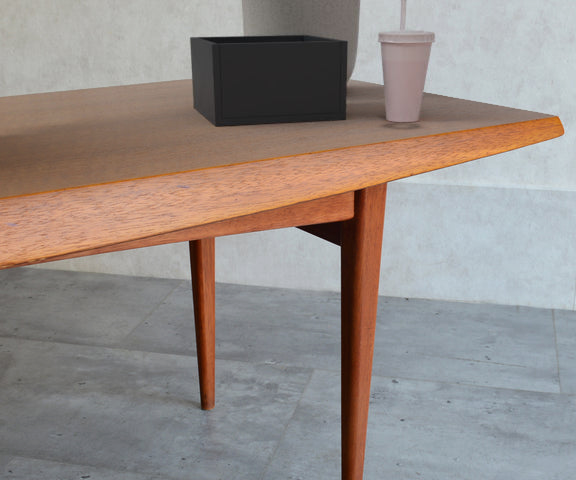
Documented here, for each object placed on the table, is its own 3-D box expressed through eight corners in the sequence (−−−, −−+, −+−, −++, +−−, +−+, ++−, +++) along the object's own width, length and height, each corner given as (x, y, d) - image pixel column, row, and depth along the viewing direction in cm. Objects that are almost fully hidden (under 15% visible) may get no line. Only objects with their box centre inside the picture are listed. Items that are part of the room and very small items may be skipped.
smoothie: (365, 117, 88) (369, -9, 83) (412, 114, 90) (418, -9, 85) (391, 125, 82) (397, -10, 77) (440, 121, 84) (449, -10, 79)
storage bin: (215, 126, 83) (211, 44, 79) (193, 107, 97) (189, 37, 93) (346, 119, 87) (347, 40, 83) (307, 102, 101) (307, 34, 97)
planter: (325, 103, 99) (327, -18, 94) (221, 96, 107) (217, -17, 102) (376, 90, 113) (379, -17, 107) (280, 84, 121) (279, -16, 115)
